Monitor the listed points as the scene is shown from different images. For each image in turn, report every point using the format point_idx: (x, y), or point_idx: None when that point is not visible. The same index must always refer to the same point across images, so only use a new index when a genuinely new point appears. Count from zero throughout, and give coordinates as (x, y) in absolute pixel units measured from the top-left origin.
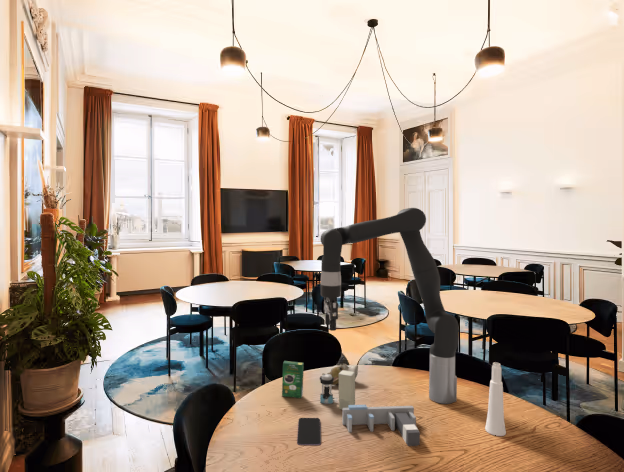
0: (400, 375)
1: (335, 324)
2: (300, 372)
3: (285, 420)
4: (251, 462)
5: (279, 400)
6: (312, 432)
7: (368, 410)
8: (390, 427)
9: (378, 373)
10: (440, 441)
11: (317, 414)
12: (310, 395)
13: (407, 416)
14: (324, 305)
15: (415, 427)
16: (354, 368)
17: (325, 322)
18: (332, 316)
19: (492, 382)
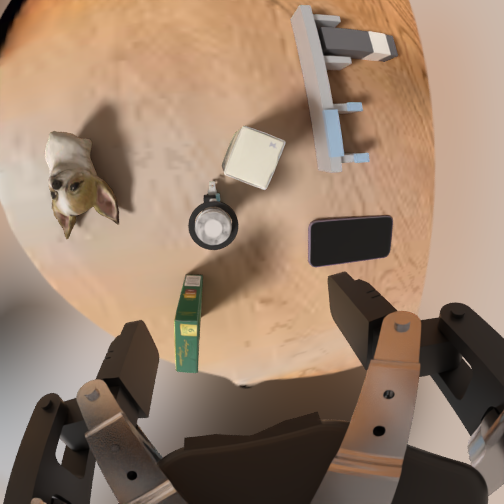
0: (41, 38)
1: (365, 297)
2: (199, 313)
3: (310, 291)
4: (413, 307)
5: (220, 319)
6: (361, 233)
7: (332, 107)
8: (333, 69)
9: (27, 89)
10: (360, 6)
11: (282, 228)
12: (179, 254)
13: (336, 29)
14: (87, 488)
15: (379, 35)
16: (65, 141)
17: (152, 367)
18: (460, 362)
19: None
